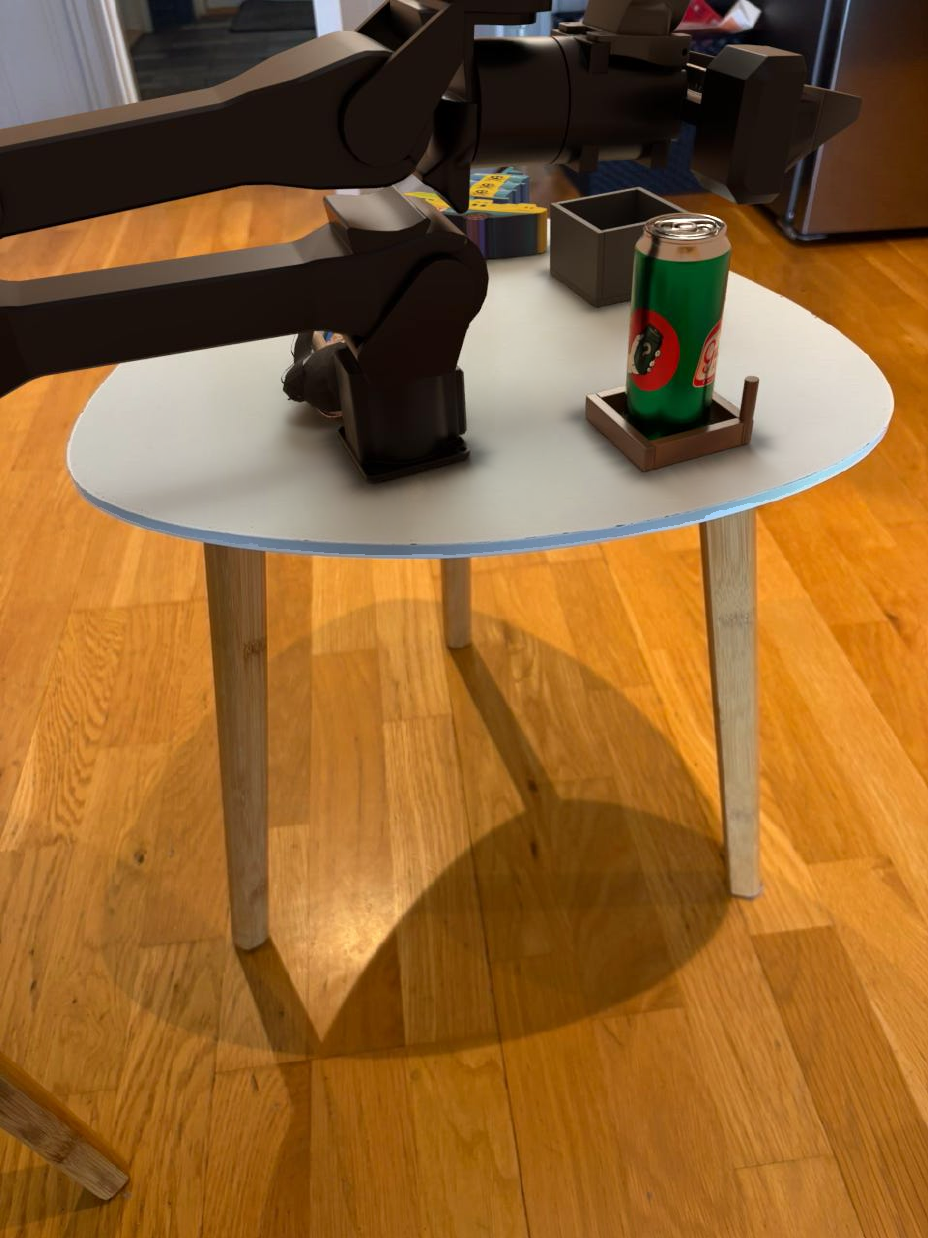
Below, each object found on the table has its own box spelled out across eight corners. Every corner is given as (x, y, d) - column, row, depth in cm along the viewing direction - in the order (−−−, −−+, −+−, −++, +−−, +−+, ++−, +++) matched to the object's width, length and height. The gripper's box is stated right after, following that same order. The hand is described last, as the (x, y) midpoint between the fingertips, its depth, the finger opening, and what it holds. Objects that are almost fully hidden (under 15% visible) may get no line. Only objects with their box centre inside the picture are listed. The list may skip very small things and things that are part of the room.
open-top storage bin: (595, 307, 72) (598, 233, 68) (549, 273, 77) (549, 203, 74) (687, 287, 74) (694, 214, 70) (635, 255, 79) (639, 186, 76)
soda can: (707, 453, 55) (735, 242, 47) (619, 448, 56) (632, 241, 48) (708, 411, 58) (734, 210, 51) (626, 407, 59) (638, 209, 52)
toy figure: (312, 336, 71) (277, 425, 59) (309, 250, 67) (271, 328, 55) (407, 342, 71) (391, 433, 59) (409, 257, 67) (393, 336, 56)
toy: (363, 203, 83) (452, 159, 92) (368, 242, 85) (453, 195, 94) (520, 226, 76) (598, 176, 86) (521, 268, 78) (597, 214, 88)
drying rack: (643, 472, 54) (649, 408, 51) (584, 416, 59) (586, 356, 56) (752, 442, 55) (762, 379, 53) (684, 391, 61) (691, 331, 58)
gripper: (662, -90, 36) (984, -82, 40) (488, -105, 50) (743, -97, 54) (623, 217, 43) (902, 195, 47) (480, 130, 56) (706, 119, 61)
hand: (805, 92), depth 52 cm, fingers open, 9 cm apart
